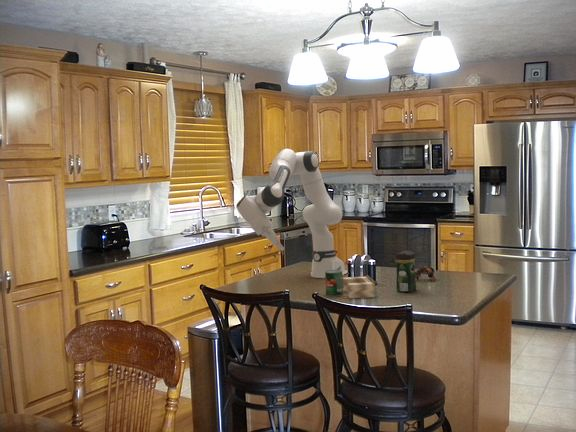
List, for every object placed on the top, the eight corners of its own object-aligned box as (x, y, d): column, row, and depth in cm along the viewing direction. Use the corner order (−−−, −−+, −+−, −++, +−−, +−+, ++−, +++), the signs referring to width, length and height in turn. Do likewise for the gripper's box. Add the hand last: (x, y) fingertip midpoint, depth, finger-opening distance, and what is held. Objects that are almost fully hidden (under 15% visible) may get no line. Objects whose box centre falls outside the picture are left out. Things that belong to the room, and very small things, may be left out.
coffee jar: (402, 288, 291) (401, 249, 290) (418, 289, 287) (417, 249, 285) (393, 292, 284) (392, 251, 282) (409, 293, 279) (408, 252, 278)
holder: (349, 298, 274) (349, 283, 273) (343, 290, 293) (343, 276, 292) (375, 297, 274) (374, 281, 274) (367, 288, 293) (367, 274, 293)
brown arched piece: (431, 284, 302) (422, 269, 302) (417, 290, 308) (408, 276, 309) (442, 274, 310) (433, 260, 311) (428, 280, 317) (419, 266, 317)
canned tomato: (323, 296, 281) (322, 272, 280) (328, 292, 288) (327, 269, 287) (340, 296, 278) (339, 272, 277) (345, 293, 285) (344, 269, 284)
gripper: (268, 222, 271) (289, 246, 271) (268, 221, 291) (287, 244, 292) (257, 231, 271) (278, 255, 271) (258, 230, 291) (277, 252, 292)
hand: (283, 249), depth 282 cm, fingers open, 8 cm apart
